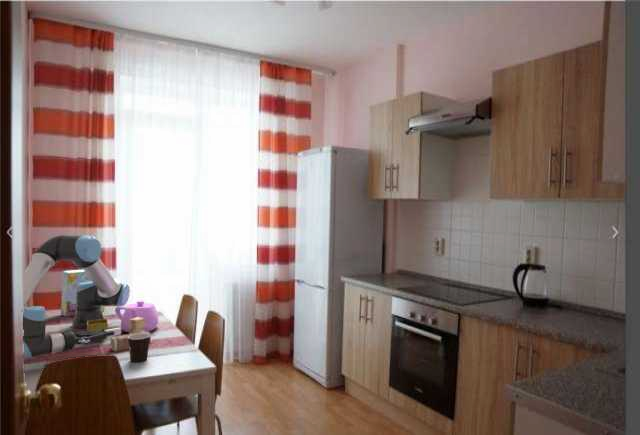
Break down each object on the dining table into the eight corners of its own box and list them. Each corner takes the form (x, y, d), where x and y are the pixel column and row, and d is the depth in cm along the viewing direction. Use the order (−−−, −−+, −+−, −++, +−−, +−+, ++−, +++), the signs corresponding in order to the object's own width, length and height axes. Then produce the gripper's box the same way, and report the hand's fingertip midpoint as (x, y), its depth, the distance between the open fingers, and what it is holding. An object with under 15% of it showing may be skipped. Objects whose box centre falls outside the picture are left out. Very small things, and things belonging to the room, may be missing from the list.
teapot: (119, 326, 227) (120, 298, 227) (160, 325, 230) (161, 297, 230) (105, 338, 205) (105, 307, 204) (150, 337, 208) (151, 307, 208)
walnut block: (111, 337, 191) (145, 330, 202) (110, 348, 191) (145, 341, 202) (115, 340, 187) (150, 333, 199) (115, 351, 187) (150, 343, 199)
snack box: (66, 317, 240) (67, 272, 240) (60, 315, 246) (61, 270, 246) (105, 311, 257) (106, 269, 257) (98, 309, 263) (99, 267, 262)
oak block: (128, 339, 204) (129, 319, 204) (137, 337, 208) (137, 317, 208) (136, 341, 202) (136, 320, 201) (144, 338, 206) (145, 318, 206)
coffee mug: (131, 356, 181) (132, 333, 181) (152, 356, 182) (153, 333, 182) (121, 366, 170) (121, 341, 170) (143, 366, 170) (144, 341, 170)
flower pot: (86, 344, 196) (86, 324, 196) (87, 338, 204) (87, 320, 204) (107, 341, 200) (108, 322, 200) (107, 336, 208) (107, 318, 208)
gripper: (56, 347, 178) (114, 335, 195) (66, 354, 169) (126, 342, 187) (56, 329, 178) (114, 319, 195) (67, 336, 169) (126, 325, 187)
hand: (120, 330), depth 191 cm, fingers closed
